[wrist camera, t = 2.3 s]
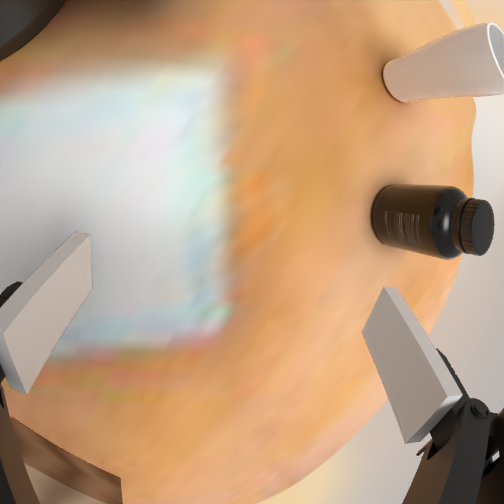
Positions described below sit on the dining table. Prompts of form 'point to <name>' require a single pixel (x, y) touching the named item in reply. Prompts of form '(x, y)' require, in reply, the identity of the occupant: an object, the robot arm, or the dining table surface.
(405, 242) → the supplement bottle
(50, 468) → the walnut stand
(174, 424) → the dining table surface
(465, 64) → the drinking glass
